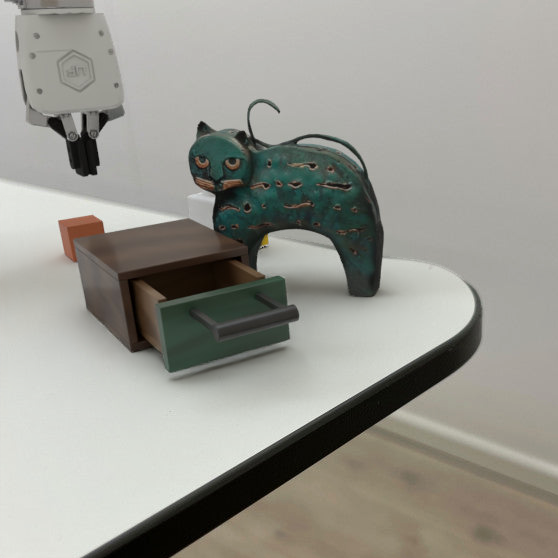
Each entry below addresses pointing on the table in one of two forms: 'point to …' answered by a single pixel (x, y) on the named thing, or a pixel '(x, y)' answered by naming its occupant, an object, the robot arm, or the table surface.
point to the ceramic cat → (291, 195)
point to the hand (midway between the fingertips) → (86, 174)
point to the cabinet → (143, 266)
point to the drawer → (210, 312)
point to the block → (78, 231)
